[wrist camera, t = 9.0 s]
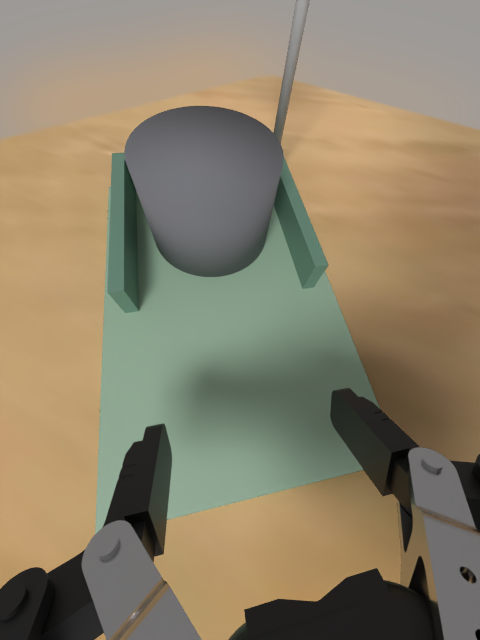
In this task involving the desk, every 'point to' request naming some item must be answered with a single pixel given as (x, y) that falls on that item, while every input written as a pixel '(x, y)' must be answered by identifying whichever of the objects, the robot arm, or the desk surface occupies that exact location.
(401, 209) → the desk surface
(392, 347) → the desk surface
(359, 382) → the mini golf green
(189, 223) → the grey domed cylinder
